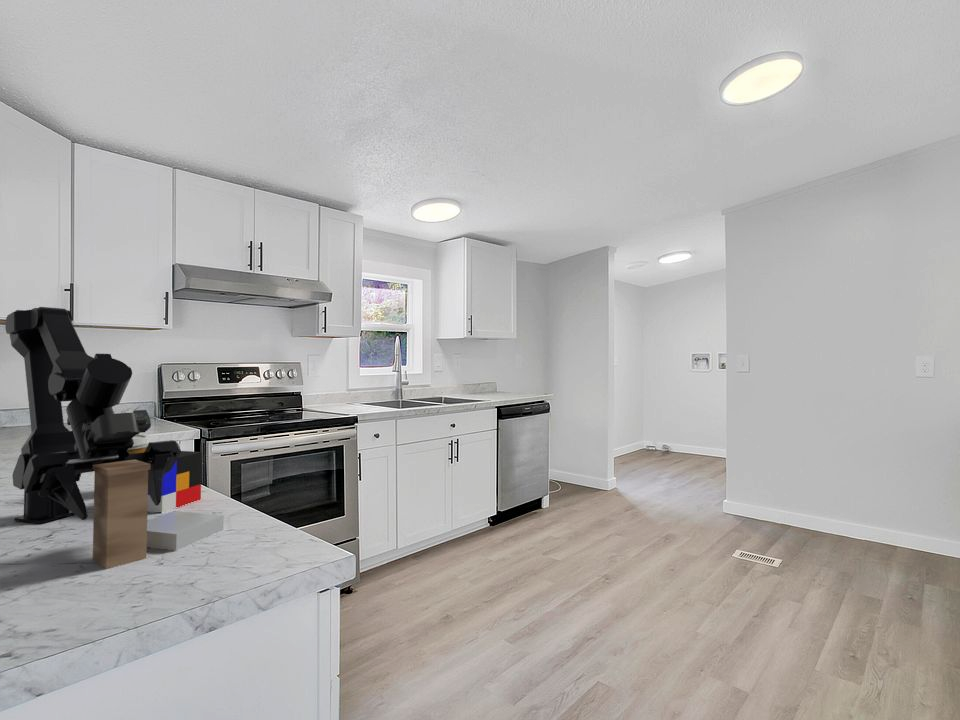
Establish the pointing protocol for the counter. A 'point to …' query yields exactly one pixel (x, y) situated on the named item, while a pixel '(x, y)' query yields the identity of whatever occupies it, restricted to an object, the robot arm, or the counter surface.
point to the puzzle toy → (180, 483)
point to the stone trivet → (181, 529)
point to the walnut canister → (120, 512)
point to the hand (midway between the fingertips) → (123, 510)
